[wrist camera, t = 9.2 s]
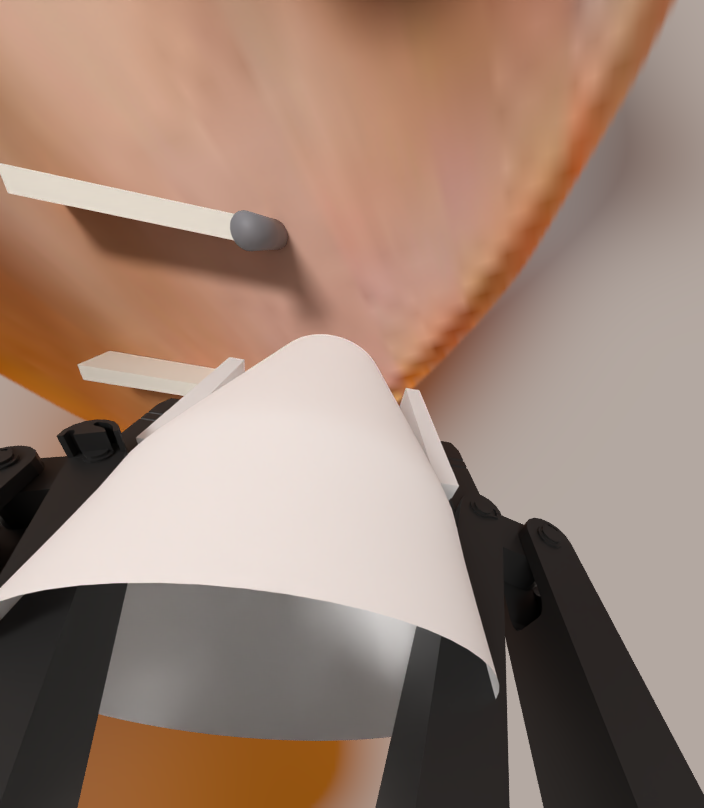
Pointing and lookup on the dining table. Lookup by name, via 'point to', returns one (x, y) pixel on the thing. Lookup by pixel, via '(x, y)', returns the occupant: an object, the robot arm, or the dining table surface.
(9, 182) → the pair of white bars
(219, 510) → the cup
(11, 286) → the dining table surface
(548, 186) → the dining table surface
